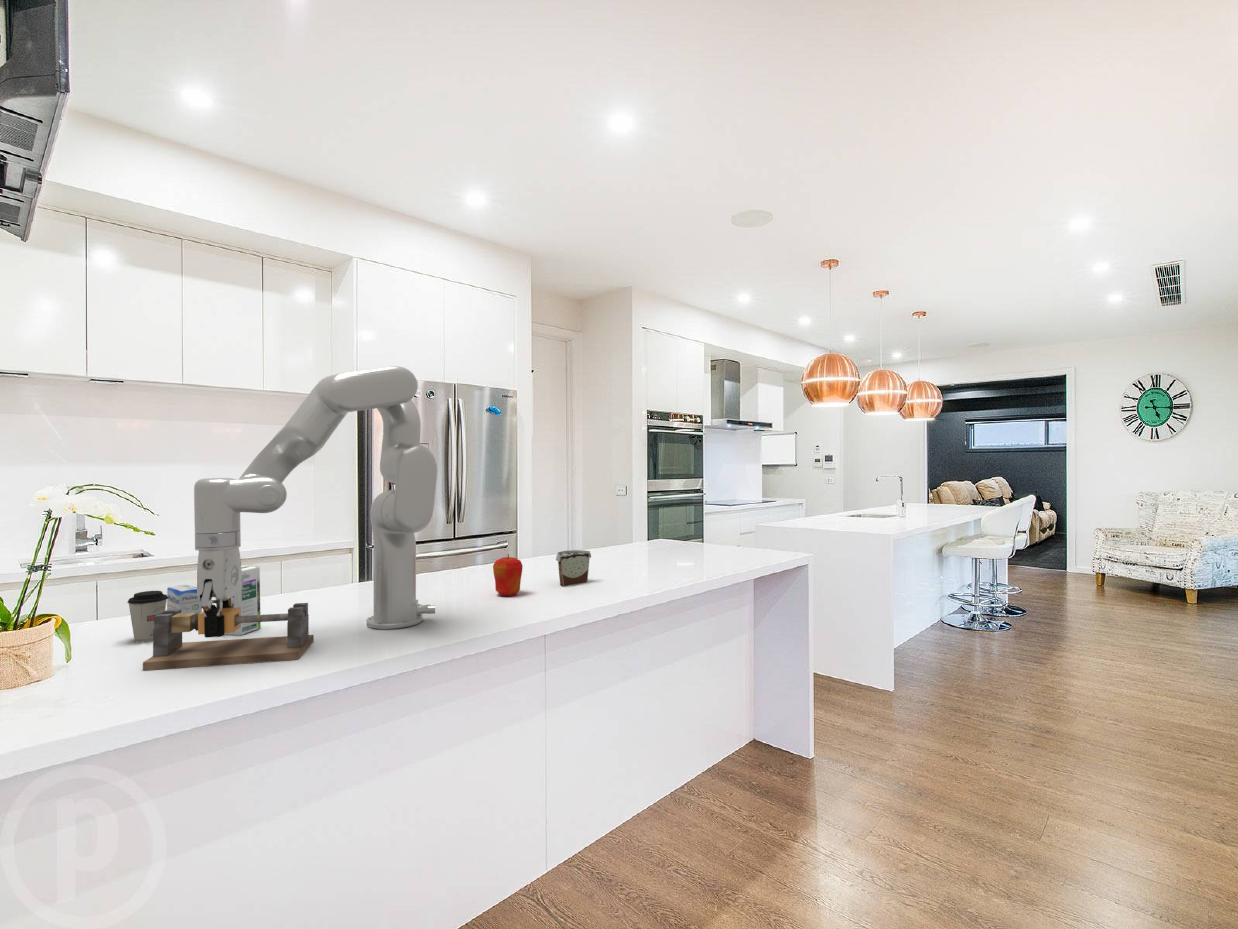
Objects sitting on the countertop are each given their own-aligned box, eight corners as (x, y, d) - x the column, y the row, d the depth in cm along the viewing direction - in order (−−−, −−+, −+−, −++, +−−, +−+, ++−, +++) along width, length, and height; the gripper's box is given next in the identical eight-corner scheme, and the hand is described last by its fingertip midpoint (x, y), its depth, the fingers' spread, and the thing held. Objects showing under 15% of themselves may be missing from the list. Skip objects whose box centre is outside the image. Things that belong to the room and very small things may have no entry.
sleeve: (240, 627, 122) (240, 607, 122) (233, 632, 118) (233, 612, 118) (206, 629, 120) (206, 609, 120) (198, 634, 116) (198, 614, 116)
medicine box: (166, 623, 142) (166, 587, 142) (187, 619, 146) (187, 584, 146) (180, 629, 138) (180, 591, 138) (202, 624, 142) (202, 587, 142)
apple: (488, 593, 175) (488, 553, 175) (515, 590, 180) (515, 550, 180) (499, 599, 168) (500, 557, 168) (527, 595, 173) (527, 554, 173)
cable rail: (313, 641, 129) (313, 599, 129) (298, 659, 117) (298, 613, 117) (173, 650, 122) (173, 605, 122) (142, 670, 111) (142, 621, 111)
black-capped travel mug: (118, 643, 127) (118, 596, 127) (148, 634, 134) (148, 589, 134) (147, 645, 126) (147, 597, 126) (176, 635, 133) (176, 590, 133)
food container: (579, 579, 197) (579, 548, 197) (591, 582, 192) (591, 551, 192) (548, 584, 189) (548, 552, 189) (559, 587, 184) (559, 554, 184)
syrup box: (240, 636, 133) (240, 570, 132) (218, 634, 134) (218, 569, 134) (261, 629, 138) (261, 565, 138) (239, 627, 139) (239, 564, 139)
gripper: (223, 546, 112) (224, 644, 112) (253, 534, 128) (255, 620, 128) (176, 547, 110) (178, 647, 110) (213, 535, 126) (215, 623, 126)
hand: (219, 632), depth 119 cm, fingers closed on sleeve, 4 cm apart
